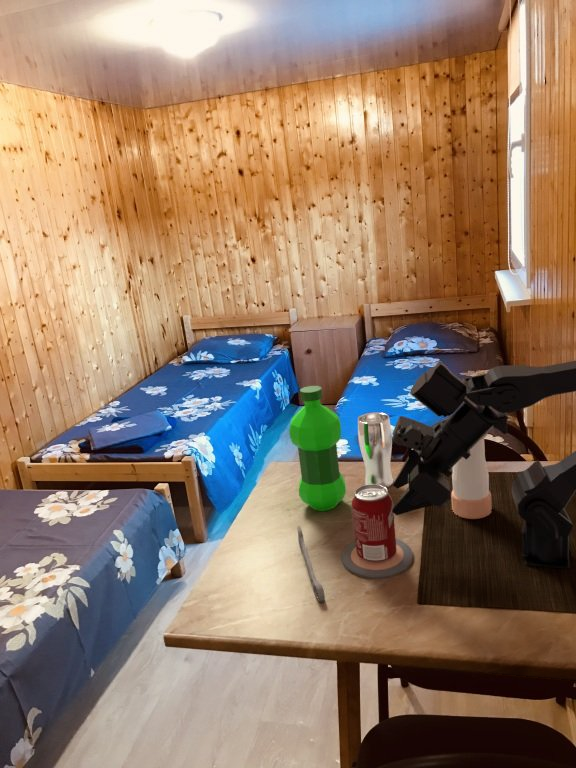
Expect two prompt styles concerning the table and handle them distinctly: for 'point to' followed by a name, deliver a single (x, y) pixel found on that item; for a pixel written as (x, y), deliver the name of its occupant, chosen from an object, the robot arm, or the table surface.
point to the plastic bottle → (318, 451)
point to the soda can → (374, 524)
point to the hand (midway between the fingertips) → (394, 499)
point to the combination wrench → (310, 568)
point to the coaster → (378, 569)
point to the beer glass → (376, 447)
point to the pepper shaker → (471, 485)
